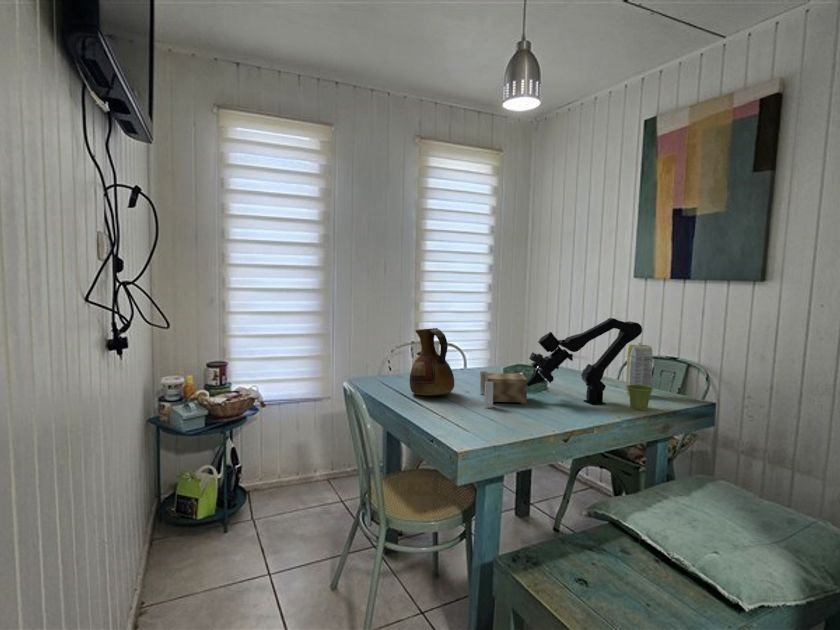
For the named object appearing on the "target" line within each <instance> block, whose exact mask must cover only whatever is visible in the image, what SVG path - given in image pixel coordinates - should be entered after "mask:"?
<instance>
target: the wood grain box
mask: <svg viewBox="0 0 840 630" xmlns="http://www.w3.org/2000/svg"><path fill="white" fill-rule="evenodd" d="M485 382H493V403H494V402H495V403H496V402H497V403H498V402H499V403H500V402H501V403H520V405H522V406H523V405H525V406H526V405H527V397H528V396H527V395H528V394H527V393H528V386H527V382H528V379H527V377H525V375H524V374H523V373H505V372H504V373H501V372H499V373H498V372H497V373H495V372H488V373H485ZM483 396H485V394H484V395H483Z"/></svg>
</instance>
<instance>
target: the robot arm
mask: <svg viewBox="0 0 840 630" xmlns="http://www.w3.org/2000/svg"><path fill="white" fill-rule="evenodd" d="M613 329H616V330H619V331H618V335H617V337H616V338H615V340H614V341H613V342H612V343H611V344H610V345H609V347H607V349H606V350H605V351H604V352H603V354H602V355H601V356H600V357H599V358H598V360H597V361H596V362H595V363H593V364H590V363H588V364H587V365H586V366H585V368H584V369H583V370H582V373H581V380H582V381H583V382H584V383H585V386H586V399H583V402H585V403H587V404H590V405H593V406H596V405H606V404H607V403H606V402H605V401H603V400H604V399H603V398H604V397H603V396H604V391H605V390H606V384H604V382H603V381H602V379H603V377H604V374H605V371H606V369H607V368H608V367H609V366H610V364H611V363H612V362H613V361H614V360H615V359H616V357H617V356H618V355H619V354H620V353H621V352H622V350H623V349H624V348H625V347H626V346H627V345H628V344H630V343H631V342H632V341H634V340H636V339H637V338H638V337H639V336H640V335H641V334H642V332H643V328H642V325H641V324H640V323H638V322H634V321H622V320H618V319H617V318H613V317H610V318H607V319H606V320H604V321H602V322H601V323H599V324H597V325H595V326H593V327H591V328H589V329H587V330H585V331H584V332H581V333H577V334H573V335H570V336H567V337H566V338H565V339H559V340H558V338H557V337H556V336H555V335H554V333H553V332H551V331H549V332H548V333H546V334H544V335H543V336H541V338H540V339H538V344H539V345H540V346H541V347H542V348H543V349H544V350H545V352H547V353H550V355H548V356H547V355H546V356H544V355H543V354H541V353H535V352H533V351H532V352H531V354H530V356H529V358H528V359H529V360H530V361H532V363H531V364H530V365H531V366H532V375H531V376H530V378H529V379H528V380H527V387H531V386H533V385H536V384H539V383H540V384H541V383H543V382H546V381H547V382H548V383H549V384H552V382H553V381H554V379H555V377H554V375H552V373H553V372H554V371H555V370H558V369H560V366H561V365H562V364H563V363H564V362H565V361H566V360H567V359H568V360H569V361H571V362H572V361H574V360H573V359H574V358H573V356H574V354H573V353H577V352H579V351H580V350H581V349H582V348H584V347H585V346H586V345H587V344H588V343H589V342H590V341H592V340H594V339H597V338H598V337H600V336H602V335H605V333H607V332H609V331H611V330H613ZM561 347H562V348H563V349H562V348H561ZM568 351H569V352H571V353H569V352H568Z"/></svg>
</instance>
